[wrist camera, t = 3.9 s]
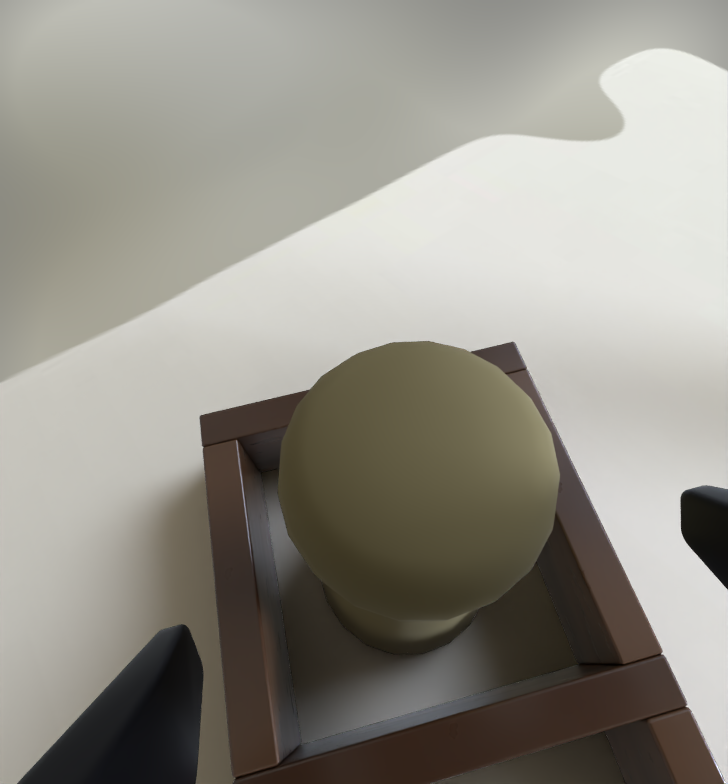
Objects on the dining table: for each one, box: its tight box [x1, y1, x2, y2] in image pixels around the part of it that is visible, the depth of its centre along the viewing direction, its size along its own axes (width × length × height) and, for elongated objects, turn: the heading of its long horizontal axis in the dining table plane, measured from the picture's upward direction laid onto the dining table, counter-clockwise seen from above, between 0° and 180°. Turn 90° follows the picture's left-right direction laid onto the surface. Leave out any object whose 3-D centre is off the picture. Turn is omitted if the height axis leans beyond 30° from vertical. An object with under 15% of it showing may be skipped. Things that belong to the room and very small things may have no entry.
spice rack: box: [200, 342, 726, 784], centre depth 14 cm, size 22×11×4 cm, turn 14°
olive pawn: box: [278, 341, 560, 654], centre depth 13 cm, size 6×6×11 cm
